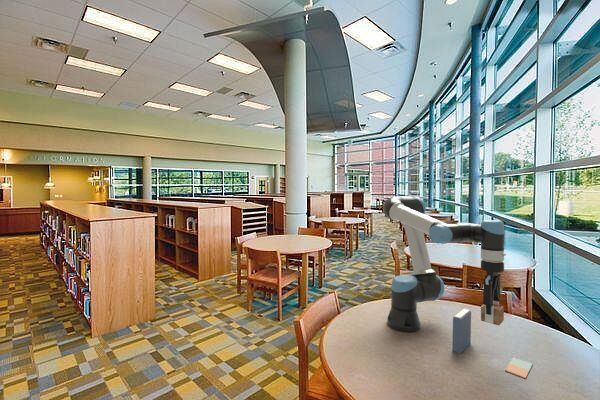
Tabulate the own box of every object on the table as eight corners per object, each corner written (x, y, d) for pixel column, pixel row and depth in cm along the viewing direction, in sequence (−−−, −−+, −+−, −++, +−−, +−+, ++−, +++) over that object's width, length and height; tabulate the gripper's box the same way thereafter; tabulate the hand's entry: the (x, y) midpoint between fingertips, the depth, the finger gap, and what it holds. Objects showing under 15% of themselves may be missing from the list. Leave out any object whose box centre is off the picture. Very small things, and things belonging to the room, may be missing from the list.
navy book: (452, 350, 119) (453, 316, 119) (462, 340, 127) (463, 307, 127) (460, 353, 117) (461, 318, 116) (470, 343, 125) (471, 310, 124)
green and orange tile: (504, 370, 106) (504, 369, 106) (509, 364, 110) (509, 363, 110) (525, 378, 101) (525, 377, 101) (529, 371, 105) (529, 370, 105)
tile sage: (509, 364, 110) (509, 363, 110) (512, 358, 114) (513, 357, 114) (529, 371, 105) (529, 370, 105) (532, 364, 110) (532, 363, 110)
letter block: (480, 320, 113) (480, 305, 113) (485, 316, 117) (485, 301, 117) (499, 325, 109) (499, 309, 109) (504, 321, 113) (504, 305, 113)
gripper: (496, 266, 104) (496, 330, 104) (510, 258, 116) (509, 315, 117) (473, 262, 109) (472, 324, 110) (488, 255, 122) (488, 310, 122)
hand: (491, 319), depth 113 cm, fingers closed on letter block, 6 cm apart
